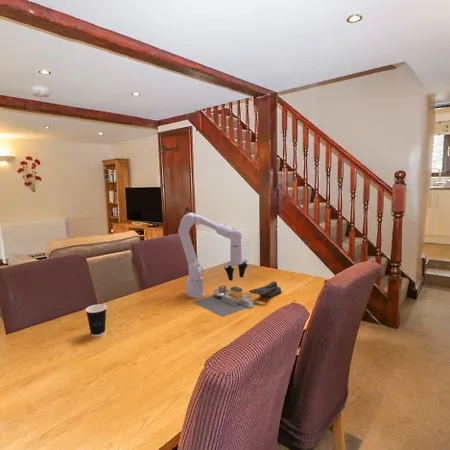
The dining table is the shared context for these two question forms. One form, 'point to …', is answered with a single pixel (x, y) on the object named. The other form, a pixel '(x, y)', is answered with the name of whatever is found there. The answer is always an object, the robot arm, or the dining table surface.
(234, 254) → the robot arm
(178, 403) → the dining table surface
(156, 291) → the dining table surface
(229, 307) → the site mat
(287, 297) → the dining table surface
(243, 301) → the scaffold node
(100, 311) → the dixie cup
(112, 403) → the dining table surface
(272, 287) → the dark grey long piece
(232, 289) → the orange grey two-tone block
